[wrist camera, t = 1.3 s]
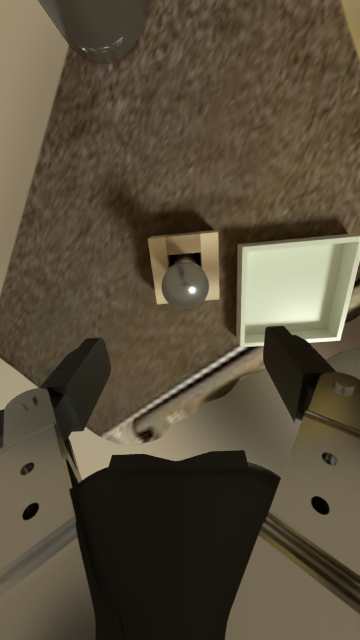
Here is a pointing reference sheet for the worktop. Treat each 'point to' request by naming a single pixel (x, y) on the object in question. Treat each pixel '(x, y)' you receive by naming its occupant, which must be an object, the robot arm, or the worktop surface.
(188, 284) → the pin
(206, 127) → the worktop surface
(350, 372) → the lumpy-topped squat cylinder
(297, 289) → the parts tray
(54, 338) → the worktop surface
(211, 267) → the frame
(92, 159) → the worktop surface
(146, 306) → the worktop surface
